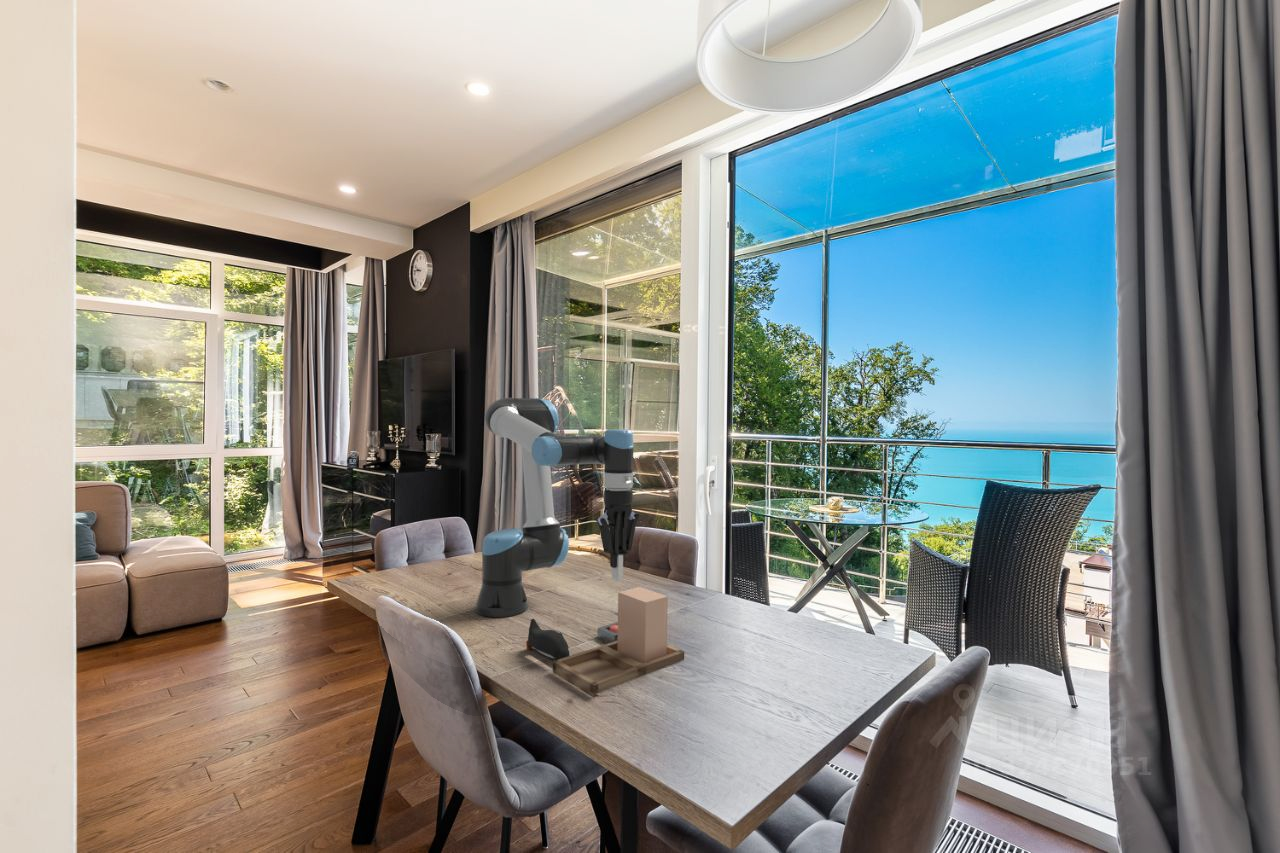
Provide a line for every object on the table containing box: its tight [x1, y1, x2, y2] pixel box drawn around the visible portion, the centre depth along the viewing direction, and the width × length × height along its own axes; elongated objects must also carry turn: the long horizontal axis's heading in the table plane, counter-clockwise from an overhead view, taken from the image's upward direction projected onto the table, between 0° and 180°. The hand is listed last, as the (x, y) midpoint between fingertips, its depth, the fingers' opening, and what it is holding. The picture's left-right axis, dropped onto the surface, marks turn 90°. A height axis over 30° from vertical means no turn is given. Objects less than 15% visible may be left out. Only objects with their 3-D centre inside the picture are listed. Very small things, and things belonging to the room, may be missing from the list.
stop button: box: [610, 625, 618, 633], centre depth 151 cm, size 4×4×3 cm
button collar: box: [597, 621, 618, 643], centre depth 151 cm, size 7×7×3 cm
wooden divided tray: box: [552, 641, 685, 698], centre depth 135 cm, size 15×27×3 cm, turn 132°
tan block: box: [617, 586, 669, 664], centre depth 139 cm, size 10×7×15 cm
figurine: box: [525, 618, 571, 660], centre depth 140 cm, size 7×10×15 cm
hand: (617, 579), depth 150 cm, fingers closed
